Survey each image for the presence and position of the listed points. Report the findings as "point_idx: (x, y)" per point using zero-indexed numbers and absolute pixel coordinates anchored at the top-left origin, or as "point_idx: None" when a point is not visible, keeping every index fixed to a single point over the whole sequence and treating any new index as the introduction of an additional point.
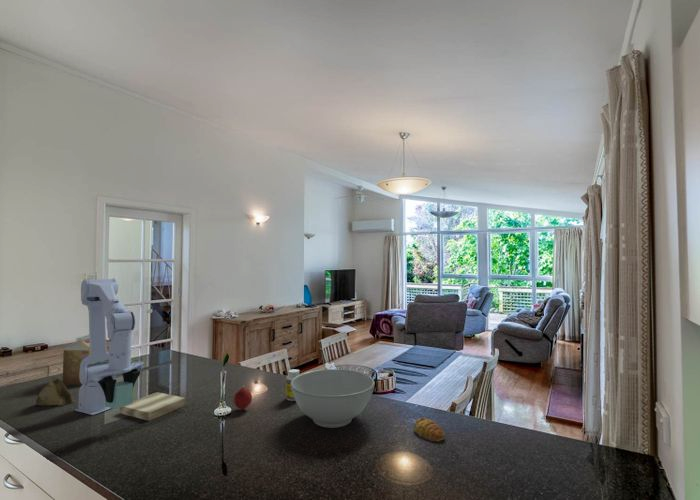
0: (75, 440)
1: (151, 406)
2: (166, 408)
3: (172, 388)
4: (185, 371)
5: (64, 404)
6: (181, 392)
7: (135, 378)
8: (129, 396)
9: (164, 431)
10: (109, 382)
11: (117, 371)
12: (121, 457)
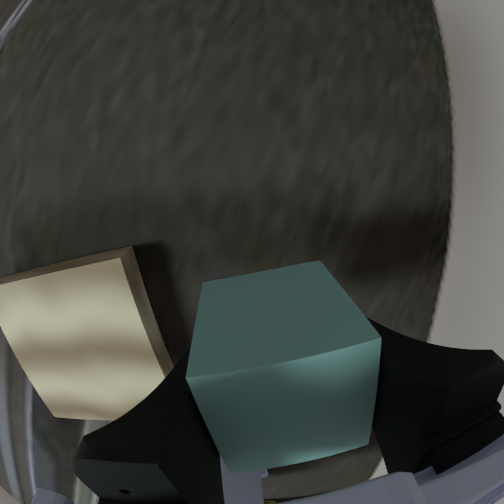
0: (382, 293)
1: (91, 321)
2: (50, 269)
3: (24, 421)
4: (5, 460)
5: (265, 500)
6: (3, 381)
7: (142, 418)
8: (224, 303)
9: (144, 81)
10: (496, 355)
11: (472, 488)
12: (355, 23)
